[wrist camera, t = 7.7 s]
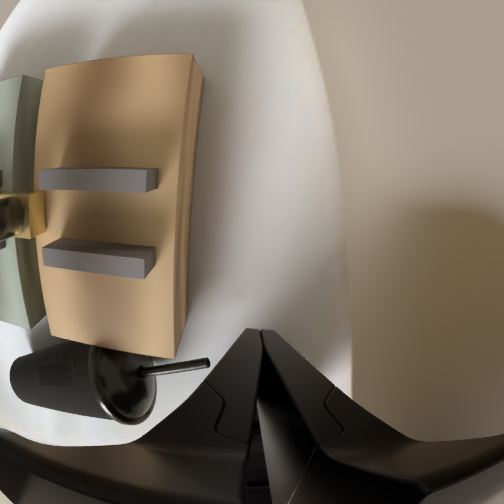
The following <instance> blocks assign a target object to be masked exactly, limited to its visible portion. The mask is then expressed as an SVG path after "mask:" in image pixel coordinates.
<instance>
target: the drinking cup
mask: <svg viewBox="0 0 504 504" xmlns="http://www.w3.org/2000/svg"><path fill="white" fill-rule="evenodd" d="M209 367H210V361H209V359H208V358H201V359H196V360H190V361H184V362H178V363H172V364H165V365H158V366H154V365H153V361H152V358H151V356H149V355H143V354H137V353H131V352H125V351H120V350H114V349H109V348H104V347H99V346H95V345H90V344H85V343H81V342H76V341H69V342H66V343H63V344H59V345H56V346H53V347H50V348H47V349H44V350H41V351H37V352H34V353H31V354H28V355H25V356H21V357H19V358H17V359H16V360H15V361H14V362H13V364H12V366H11V369H10V382H11V386H12V388H13V390H14V392H15V394H16V395H17V396H18V397H19V398H20V399H21V400H22V401H24V402H26V403H29V404H32V405H36V406H40V407H45V408H49V409H53V410H58V411H62V412H67V413H73V414H78V415H83V416H89V417H96V418H102V419H109V420H115V421H117V422H119V423H121V424H124V425H137V424H140V423H142V422H144V421H145V420H146V419H147V418H148V417H149V416H150V414H151V412H152V410H153V408H154V405H155V401H156V394H157V382H156V375H164V374H171V373H178V372H185V371H192V370H198V369H204V368H209Z"/></svg>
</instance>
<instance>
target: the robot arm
mask: <svg viewBox="0 0 504 504" xmlns="http://www.w3.org/2000/svg"><path fill="white" fill-rule="evenodd" d="M0 490H1V491H2V492H3V493H4V495H6V496H7V498H8V499H9V500H10V501H12V503H14V504H504V434H500V435H496V436H491V437H484V438H474V439H465V440H452V441H433V442H425V441H418V440H414V439H412V438H409V437H407V436H405V435H403V434H401V433H400V432H398V431H397V430H395V429H394V428H392V427H391V426H389V425H388V424H386V423H385V422H383V421H382V420H380V419H378V418H377V417H376V416H374V415H372V414H371V413H370V412H368V411H367V410H365V409H364V408H363V407H361V406H360V405H358V404H357V403H356V402H354V401H353V400H352V399H351V398H349V397H348V396H347V395H346V394H345V393H343V392H342V391H341V390H340V389H339V388H338V387H335V385H334V384H333V383H332V382H331V381H329V380H328V379H327V378H326V377H325V376H324V375H323V374H322V373H320V372H319V371H318V370H317V369H316V368H315V367H314V366H313V365H311V364H310V363H309V362H308V361H307V360H306V359H305V358H304V357H302V356H301V355H300V354H299V353H298V352H297V351H296V350H295V349H294V348H293V347H291V346H290V345H289V344H288V343H287V342H286V341H285V340H284V339H283V338H282V337H281V336H279V335H278V334H277V333H276V332H275V331H274V330H267V329H261V330H260V331H259V329H252V328H246V329H245V330H244V331H243V333H242V334H241V335H240V336H239V338H238V339H237V340H236V341H235V343H234V344H233V345H232V346H231V348H230V349H229V350H228V351H227V353H226V354H225V355H224V356H223V357H222V359H221V360H220V361H219V362H218V364H217V365H216V366H215V367H214V369H213V370H212V371H211V372H210V373H209V375H208V376H207V377H206V378H205V379H204V381H203V382H202V383H201V384H200V385H199V386H198V388H197V389H196V390H195V391H194V392H193V393H192V394H191V395H190V396H189V398H188V399H187V400H186V401H184V402H183V403H182V404H181V405H180V406H179V407H178V408H177V409H176V410H174V411H173V412H172V413H171V414H169V415H168V416H167V417H166V418H165V419H163V420H162V421H161V422H160V423H158V424H157V425H156V426H155V427H153V428H152V429H151V430H150V431H148V432H147V433H146V434H145V435H143V436H142V437H140V438H139V439H137V440H135V441H133V442H130V443H127V444H121V445H106V446H53V445H46V444H41V443H38V442H34V441H31V440H29V439H26V438H24V437H22V436H20V435H18V434H16V433H14V432H11V431H9V430H6V429H3V428H0Z"/></svg>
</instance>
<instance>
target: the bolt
mask: <svg viewBox="0 0 504 504" xmlns="http://www.w3.org/2000/svg"><path fill="white" fill-rule="evenodd" d="M45 232H46V221H45V191H0V242H2V241H4V240H6V239H8V238H10V237H17V238H26V239H32V238H34V237H36V236H38V235H40V234H42V233H45Z"/></svg>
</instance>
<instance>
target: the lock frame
mask: <svg viewBox="0 0 504 504" xmlns="http://www.w3.org/2000/svg"><path fill="white" fill-rule="evenodd" d="M203 85H204V77H203V75H202V72H201V70H200V68H199V66H198V64H197V62H196V60H195V58H194V56H193V54H159V55H140V56H127V57H117V58H108V59H100V60H92V61H86V62H80V63H74V64H68V65H63V66H58V67H53V68H49V69H46V70H45V75H44V81H42V80H39V79H35V78H32V77H28V76H25V75H21V76H17V77H14V78H10V79H7V80H4V81H1V82H0V191H45V221H46V232H45V233H42V234H40V235H38V236H36V237H34V238H32V239H26V238H17V237H10V238H8V239H6V240H4V241H2V242H0V320H1V321H4V322H7V323H10V324H13V325H16V326H20V327H23V328H26V329H30V330H31V329H32V328H33V327H34V326H35V325H36V324H37V323H38V322H39V321H40V320H41V319H42V318H43V317H44V316H45V315H46V314H47V319H48V323H49V328H50V332H51V335H52V336H56V337H60V338H64V339H68V340H72V341H76V342H81V343H85V344H90V345H95V346H99V347H104V348H109V349H114V350H120V351H125V352H131V353H137V354H143V355H149V356H156V357H163V358H170V359H175V356H176V352H177V349H178V346H179V343H180V340H181V336H182V333H183V330H184V327H185V324H186V321H187V288H188V259H189V237H190V220H191V205H192V191H193V178H194V166H195V155H196V145H197V135H198V126H199V117H200V109H201V101H202V93H203Z"/></svg>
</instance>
